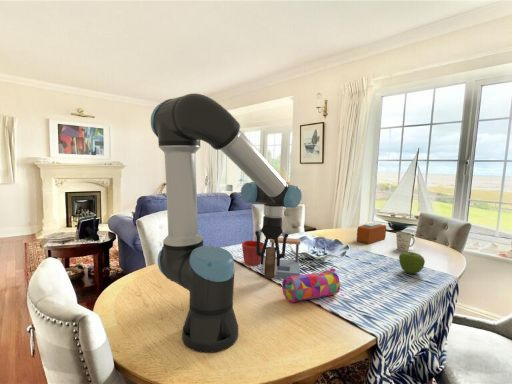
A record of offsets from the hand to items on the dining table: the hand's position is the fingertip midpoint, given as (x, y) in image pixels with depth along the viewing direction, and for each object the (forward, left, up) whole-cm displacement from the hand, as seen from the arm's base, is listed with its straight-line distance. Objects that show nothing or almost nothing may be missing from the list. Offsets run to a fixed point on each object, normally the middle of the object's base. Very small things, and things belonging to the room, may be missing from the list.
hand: (269, 272), depth 114 cm
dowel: (0, 0, -2) cm, 2 cm away
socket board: (+13, -5, -4) cm, 15 cm away
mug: (+67, -77, -4) cm, 102 cm away
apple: (+25, -64, -4) cm, 69 cm away
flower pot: (+21, +10, -4) cm, 23 cm away
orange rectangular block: (+84, -62, -4) cm, 105 cm away
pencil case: (-10, -16, -4) cm, 19 cm away
